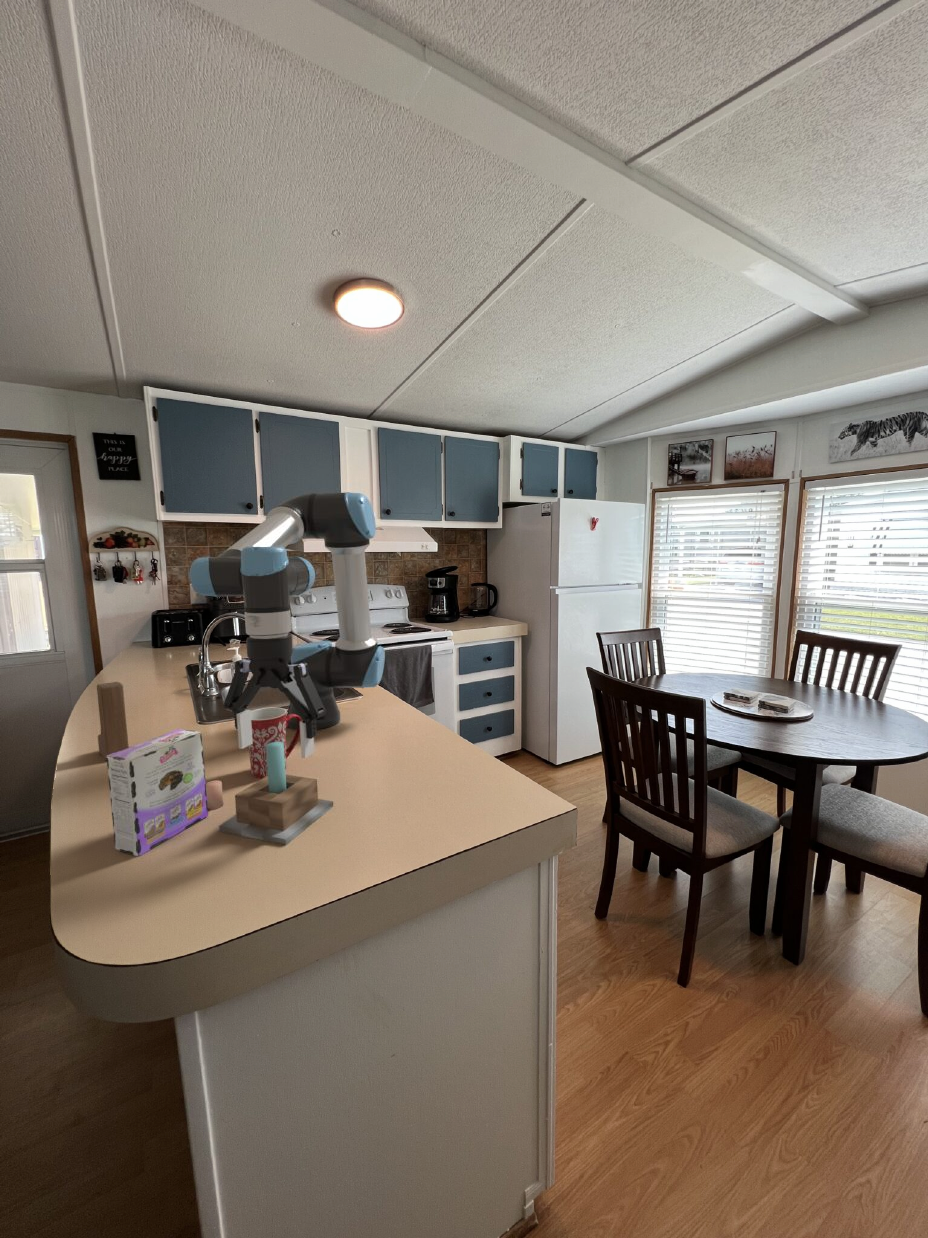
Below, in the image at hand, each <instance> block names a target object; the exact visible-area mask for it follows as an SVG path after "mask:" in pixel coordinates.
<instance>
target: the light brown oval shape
mask: <svg viewBox="0 0 928 1238" xmlns="http://www.w3.org/2000/svg"><path fill="white" fill-rule="evenodd" d="M205 783H206V794H207V805H208V811H212V810H214V811H215V810H217V809H220V808H222V807H223V805H224V796H223V782H222V780H210V781H208V782H205Z"/></svg>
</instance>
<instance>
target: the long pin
mask: <svg viewBox="0 0 928 1238" xmlns="http://www.w3.org/2000/svg"><path fill="white" fill-rule="evenodd" d="M266 755H267V769H268V784H269V792H271V793H277V794H280V793H282V792H283V791H285V790H286V775H287V774H286V770H285V758H284V743H283V742H272V743H269V744H267V745H266Z"/></svg>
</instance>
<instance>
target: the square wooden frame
mask: <svg viewBox="0 0 928 1238" xmlns="http://www.w3.org/2000/svg"><path fill="white" fill-rule="evenodd" d="M318 791H319V790H318V779H316V778H312V777H311V778H310V777H304V776H298V775H293V774H292V775H291V774H286V790H285V791H283V792H282V793H280V794H277V793H271V792H269V784H268V776H266V777H265V778H260V780H258V781H257V782H255V783H252V784H251V785H249V786H248V787H246V788H245V789H243V790H242V791H239V792H237V793H236V794H235V795H234V799H235V800H234V802H235V803H234V804H235V813H236V814H235V815H234V816H232V817H230V818H229V819H228V820H226V821H224V822H223V823H221V824H220V825H218V829H219V832H223V833H228V834H232V835H237V836H241V837H247V838H252V839H255V840H260V841H266V842H270V843H274V844H279V845H284V846H287V845H288V844H290V843H291V842H292V841H293V840H294V839H295V838H297V837H298V836H299V835H300V834H301V833H303V832H304V831H305V830H306V829H307V828H309V827H310V826H312V824H313V823H315V822H316V821H318V819H320V818H321V817H322V816H323V815H325V814H326V813H327V812H328V811H330V810H331V809H332V808H334V801H333V800H327V799H323V798H319V796H318V795H319V793H318Z"/></svg>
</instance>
